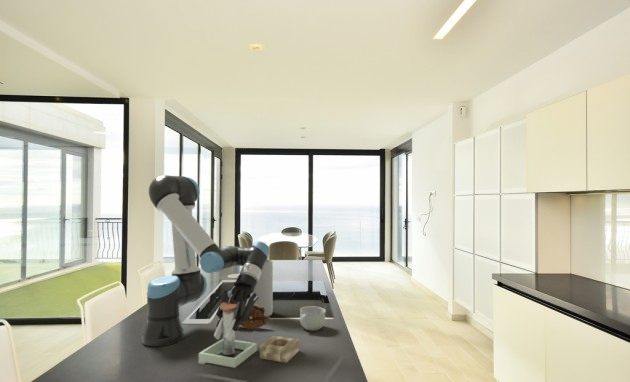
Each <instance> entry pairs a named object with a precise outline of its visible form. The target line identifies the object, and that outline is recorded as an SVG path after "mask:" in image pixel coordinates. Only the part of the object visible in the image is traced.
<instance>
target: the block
mask: <svg viewBox="0 0 630 382" xmlns="http://www.w3.org/2000/svg"><path fill="white" fill-rule="evenodd" d="M299 340H300V339H298V338H292V337H291V338H290V337H285V336H277V335H272V336H271V337H270V338H268V339H267V340H265V342H263V343H262V344H261V345H259V359H262V360H263V359H264V360H268V361H275V362H280V363H285V364H286V363H288V362H289V361H290V360H291V359H293V357H294V356H295V355H296V354H298V352H299V351H300V344H299V343H300V341H299Z"/></svg>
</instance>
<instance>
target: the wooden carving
mask: <svg viewBox="0 0 630 382" xmlns="http://www.w3.org/2000/svg"><path fill="white" fill-rule="evenodd" d="M245 307H246V305H245ZM264 312H265V309H264V307H261V306H259V305H256V304H254V305H253V308H252V310H251V312H250V315H249V317H248V319H247V321H246V322H244V321H243V322H241V323H240V325H239V326H241V327H242V328H245V329H249V330H255V329H259V328H261V327H263V326H265V325H267V322H266V321H267V320H269V319H271V317H270V316H267V317H266V316H265V315H264ZM236 315H237V313H236V314H235V317H236ZM235 320H236V318H235Z"/></svg>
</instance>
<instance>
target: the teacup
mask: <svg viewBox="0 0 630 382" xmlns="http://www.w3.org/2000/svg"><path fill="white" fill-rule="evenodd" d="M299 311H300V313H299V314H300V315H299V322H300V325H301V326H302V327H303V328H304V330H307V331H311V332H312V331H313V332H315V331H318V330H321V328H323V327H324V325H325V321H326V312H327V310H326V309H325V308H323V307H321V306H315V305H307V306H303V307H301V308H299Z"/></svg>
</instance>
